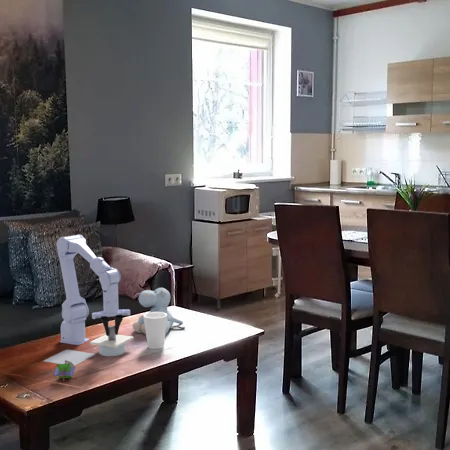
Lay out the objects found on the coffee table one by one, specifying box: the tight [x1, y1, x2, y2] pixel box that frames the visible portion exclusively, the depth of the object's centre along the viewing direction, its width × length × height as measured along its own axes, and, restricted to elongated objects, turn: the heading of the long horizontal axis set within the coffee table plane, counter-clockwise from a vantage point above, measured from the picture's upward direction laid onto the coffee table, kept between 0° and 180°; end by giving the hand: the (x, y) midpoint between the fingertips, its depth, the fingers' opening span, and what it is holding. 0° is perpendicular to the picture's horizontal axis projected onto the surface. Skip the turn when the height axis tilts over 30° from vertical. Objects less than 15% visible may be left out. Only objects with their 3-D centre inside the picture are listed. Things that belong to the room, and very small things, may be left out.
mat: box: [43, 349, 97, 367], centre depth 230 cm, size 14×14×1 cm
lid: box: [89, 325, 135, 348], centre depth 235 cm, size 12×12×6 cm
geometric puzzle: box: [53, 360, 76, 383], centre depth 208 cm, size 7×7×8 cm
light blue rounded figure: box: [132, 287, 186, 336], centre depth 263 cm, size 18×23×18 cm
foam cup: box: [143, 311, 167, 350], centre depth 242 cm, size 10×9×13 cm
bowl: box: [98, 343, 126, 357], centre depth 236 cm, size 10×10×4 cm
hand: (111, 334), depth 235 cm, fingers closed on lid, 3 cm apart
